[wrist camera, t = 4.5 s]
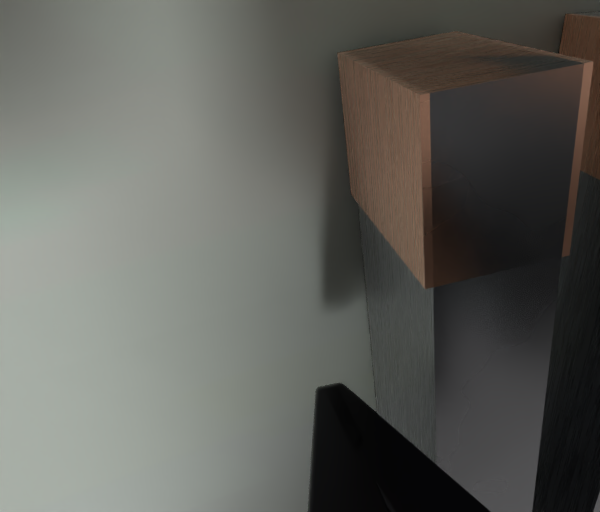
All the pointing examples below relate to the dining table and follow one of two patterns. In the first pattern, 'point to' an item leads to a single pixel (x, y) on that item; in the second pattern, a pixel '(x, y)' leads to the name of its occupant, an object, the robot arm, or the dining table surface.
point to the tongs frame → (576, 321)
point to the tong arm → (465, 241)
